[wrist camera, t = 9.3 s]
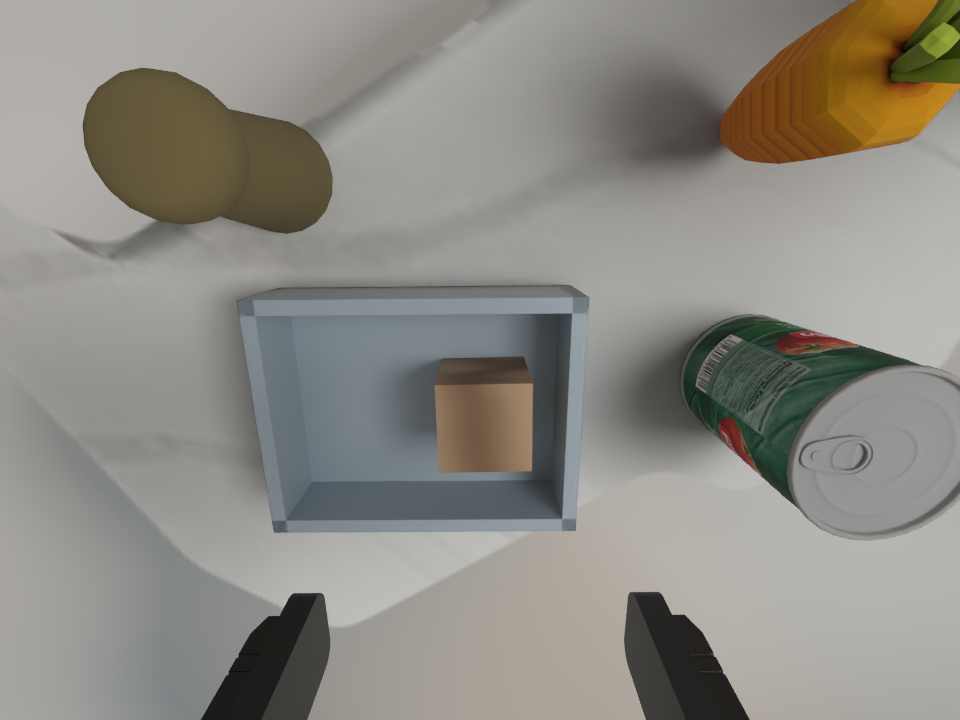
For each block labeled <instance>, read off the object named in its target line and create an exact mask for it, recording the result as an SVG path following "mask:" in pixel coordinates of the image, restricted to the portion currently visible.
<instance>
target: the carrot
mask: <svg viewBox="0 0 960 720" xmlns="http://www.w3.org/2000/svg"><path fill="white" fill-rule="evenodd" d="M959 8H960V0H858V1H856V2H854V3H852V4H850V5H849V6H847V7H846V8H844V9H842V10H841V11H839V12H838V13H836V14H835V15H833V16H832V17H830V18H829V19H827V20H826V21H824V22H822V23H821V24H819V25H818V26H816V27H815V28H813V29H812V30H810V31H809V32H807V33H806V34H805V35H803V36H802V37H800V38H799V39H798V40H796V41H795V42H793V43H792V44H790V45H789V46H788V47H786V48H785V49H783V50H782V51H781V52H779V53H778V54H777V55H776V56H775V57H774V58H773V59H772V60H771V61H770V62H769V63H768V64H767V65H766V66H764V67H763V68H762V69H761V70H760V71H759V72H758V73H757V74H756V76H755V77H754V78H753V79H752V80H751V81H750V82H749V83H748V84H747V85H746V86H745V87H744V88H743V90H742V91H741V92H740V94H739V95H738V96H737V98H736V99H735V100H734V102H733V103H732V104H731V105H730V107H729V108H728V109H727V111H726V112H725V113H724V115H723V117H722V119H721V121H720V141H721V143H722V144H724V145H725V146H726V147H727V148H728V149H729V150H731V151H732V152H733V153H734V154H735V155H737V156H739V157H741V158H743V159H744V160H748V161H754V162H761V163H777V164H780V163H788V162H795V161H803V160H810V159H816V158H821V157H827V156H833V155H838V154H844V153H850V152H855V151H860V150H866V149H871V148H877V147H882V146H888V145H893V144H899V143H902V142H905V141H908V140H910V139H912V138H914V137H916V136H917V135H919V134H920V132H921V131H922V130H923V129H924V128H925V127H926V126H927V125H928V123H929V122H930V121H931V120H932V119H933V118H934V117H935V116H936V114H937V113H938V112H939V111H940V110H941V109H942V108H943V107H944V105H945V104H946V103H947V102H948V101H949V100H950V99H951V98H952V96H953V95H954V94H955V93H956V92H957V91H958V90H959V88H960V11H958V9H959ZM957 11H958V12H957Z"/></svg>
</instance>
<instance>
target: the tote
mask: <svg viewBox="0 0 960 720" xmlns="http://www.w3.org/2000/svg"><path fill="white" fill-rule="evenodd" d="M237 305H238V311H239V318H240V324H241V330H242V336H243V343H244V349H245V355H246V361H247V368H248V374H249V380H250V386H251V393H252V399H253V405H254V411H255V417H256V424H257V430H258V436H259V442H260V449H261V455H262V461H263V467H264V474H265V480H266V486H267V492H268V499H269V505H270V511H271V517H272V524H273V530H274V532H461V531H575V530H576V512H577V496H578V479H579V462H580V444H581V427H582V410H583V393H584V376H585V358H586V341H587V324H588V307H589V297H588V296H586V295H585V294H583V293H581V292H580V291H578V290H577V289H575V288H574V287H572V286H570V285H555V286H443V287H331V288H278V289H274V290H271V291H268V292H264V293H261V294H257V295H254V296H250V297H247V298H244V299H240V300H237ZM484 357H524V358H525V361H526V364H527V367H528V370H529V373H530V376H531V379H532V382H533V422H532V471H522V472H464V473H439V461H438V442H437V423H436V404H435V382H436V379H437V376H438V372H439V369H440V366H441V362H442V359H443V358H484Z"/></svg>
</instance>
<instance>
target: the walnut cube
mask: <svg viewBox="0 0 960 720" xmlns="http://www.w3.org/2000/svg"><path fill="white" fill-rule="evenodd" d="M435 404H436V423H437V442H438V461H439V473H464V472H522V471H532V422H533V382H532V379H531V376H530V373H529V370H528V367H527V364H526V361H525V358H524V357H484V358H443V359H442V362H441V366H440V369H439V372H438V376H437V379H436V382H435Z"/></svg>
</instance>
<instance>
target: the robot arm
mask: <svg viewBox="0 0 960 720" xmlns="http://www.w3.org/2000/svg"><path fill="white" fill-rule="evenodd" d="M958 11H960V8H959V9H958ZM958 11H957V12H958ZM624 644H625V653H626V658H627V663H628V667H629V670H630V673H631V676H632V679H633V682H634V685H635V688H636V691H637V694H638V697H639V700H640V703H641V706H642V709H643V712H644V715H645V718H646V720H749V718H748V716H747V714H746V712H745V710H744V708H743V707H742V705H741V703H740V701H739V699H738V698H737V695H736V694H735V692H734V690H733V688H732V686H731V684H730V683H729V681H728V679H727V677H726V675H724V674H723V670H722V668H721V666H720V664H719V663H718V661H717V659H716V657H714V654H713V651H712V649H711V648H710V646H709V644H708V642H707V640H706V638H705V637H704V635H703V633H702V632H701V631H700V630H699V629H698V628H697V627H696V626H695V625H694V624H693V623H692V622H691V621H690V620H689V619H688V618H687V617H686V616H685V615H672V614H671V612H670V610H669V608H668V606H667V604H666V602H665V600H664V598H663V596H662V595H661V593H659V592H630V593H629V596H628V605H627V615H626V626H625V636H624ZM329 651H330V634H329V627H328V620H327V612H326V605H325V598H324V595H323V594H322V593H294V594H292V595H291V596H290V598H289V599H288V601H287V603H286V605H285V607H284V609H283V611H282V612H281V615H280V616H268V617H267V618H266V619H265V620H264V621H263V622H262V623H261V624H260V625H259V626H258V627H257V628H256V629H255V630H254V631H253V632H252V633H251V634H250V636H249V637H248V639H247V641H246V642H245V644H244V646H243V648H242V649H241V651H240V653H239V657H238V658H236V660H235V661H234V663H233V665H232V667H231V668H230V670H229V674H228V676H226V677H225V679H224V681H223V682H222V684H221V686H220V688H219V689H218V691H217V693H216V695H215V696H214V698H213V700H212V701H211V703H210V705H209V707H208V709H207V710H206V712H205V714H204V715H203V717H202V719H201V720H307V719H308V716H309V713H310V710H311V707H312V705H313V702H314V699H315V696H316V693H317V691H318V688H319V685H320V682H321V680H322V677H323V674H324V671H325V668H326V665H327V661H328V657H329Z"/></svg>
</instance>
